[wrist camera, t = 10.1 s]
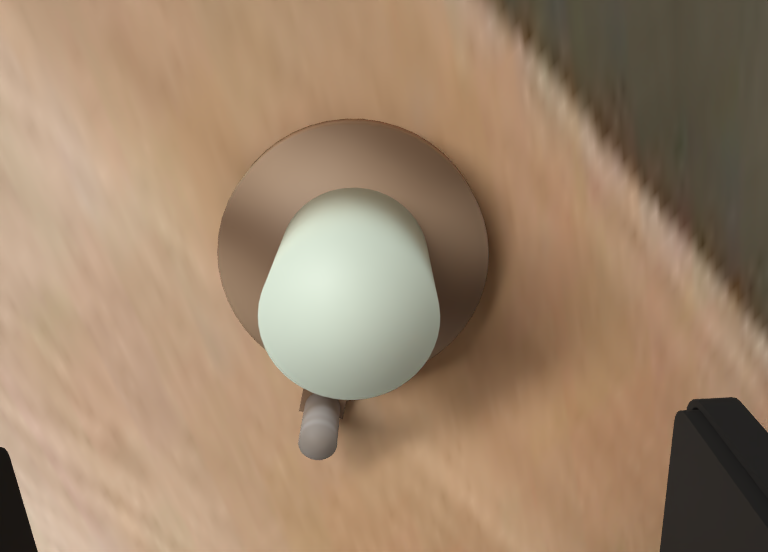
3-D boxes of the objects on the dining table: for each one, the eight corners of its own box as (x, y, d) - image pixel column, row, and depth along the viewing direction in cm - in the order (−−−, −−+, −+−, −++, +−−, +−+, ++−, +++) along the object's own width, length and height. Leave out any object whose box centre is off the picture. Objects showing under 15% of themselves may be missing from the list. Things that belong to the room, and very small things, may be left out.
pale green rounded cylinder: (293, 173, 28) (272, 216, 23) (443, 203, 29) (459, 253, 23) (262, 354, 31) (238, 433, 26) (400, 379, 32) (405, 461, 26)
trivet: (244, 92, 29) (226, 104, 26) (513, 149, 30) (530, 168, 26) (202, 394, 34) (183, 437, 30) (435, 435, 34) (441, 481, 31)
